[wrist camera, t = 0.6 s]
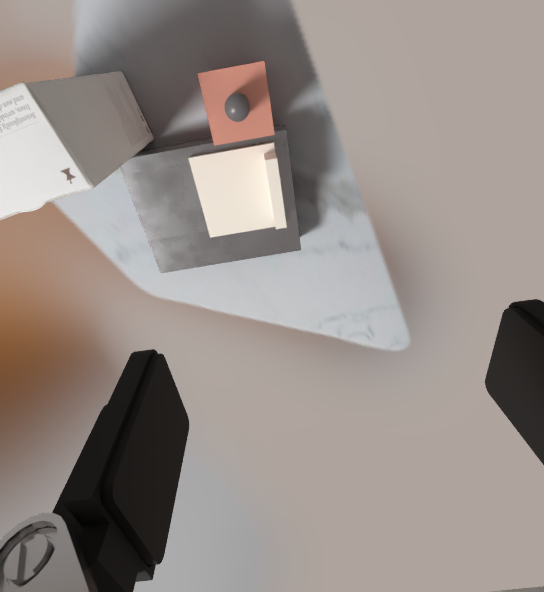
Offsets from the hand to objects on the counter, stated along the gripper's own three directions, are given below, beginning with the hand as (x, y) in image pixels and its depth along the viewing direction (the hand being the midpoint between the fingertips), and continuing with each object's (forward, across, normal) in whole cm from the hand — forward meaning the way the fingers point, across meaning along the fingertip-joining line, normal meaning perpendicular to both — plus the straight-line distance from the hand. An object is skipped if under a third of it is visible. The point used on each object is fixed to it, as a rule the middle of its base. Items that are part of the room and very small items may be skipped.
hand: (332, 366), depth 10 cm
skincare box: (+28, +16, -6) cm, 33 cm away
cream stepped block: (+25, +4, +1) cm, 26 cm away
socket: (+28, +6, +2) cm, 29 cm away
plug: (+28, +2, -6) cm, 29 cm away
